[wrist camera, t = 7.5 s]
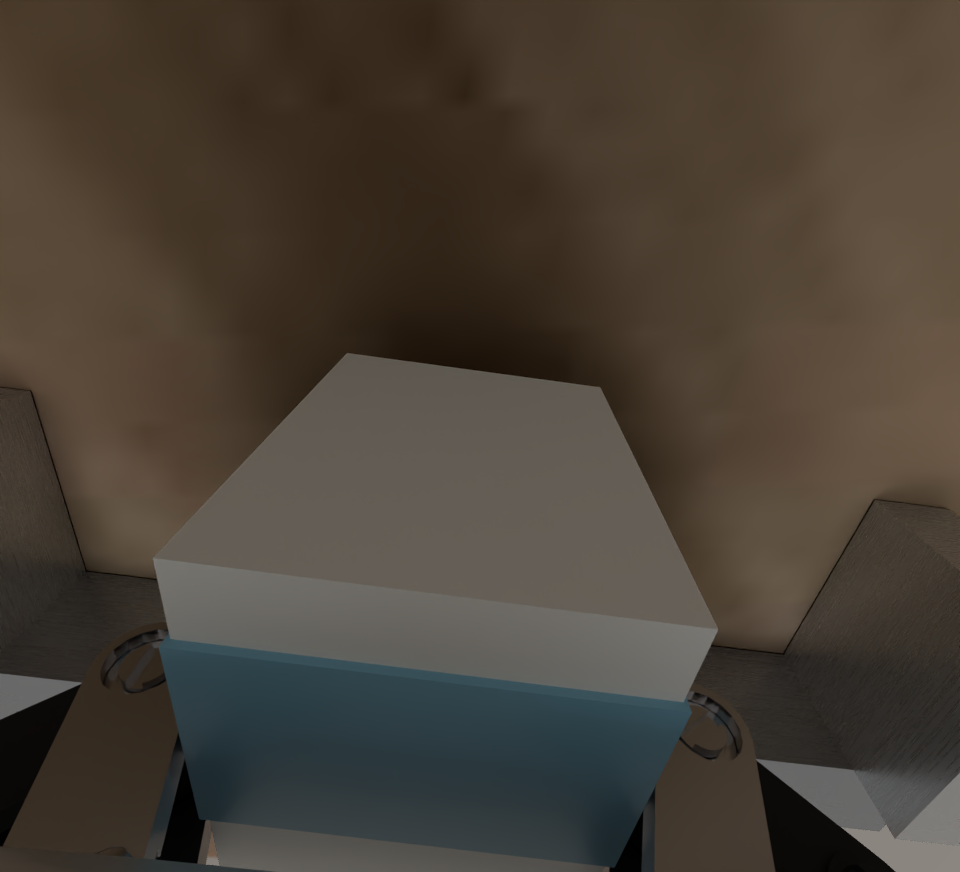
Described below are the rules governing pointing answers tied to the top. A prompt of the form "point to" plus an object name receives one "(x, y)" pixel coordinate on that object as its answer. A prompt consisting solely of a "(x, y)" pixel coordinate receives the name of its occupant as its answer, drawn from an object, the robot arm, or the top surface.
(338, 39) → the top surface
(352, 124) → the top surface
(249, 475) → the block
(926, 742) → the rail
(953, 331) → the top surface
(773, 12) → the top surface
